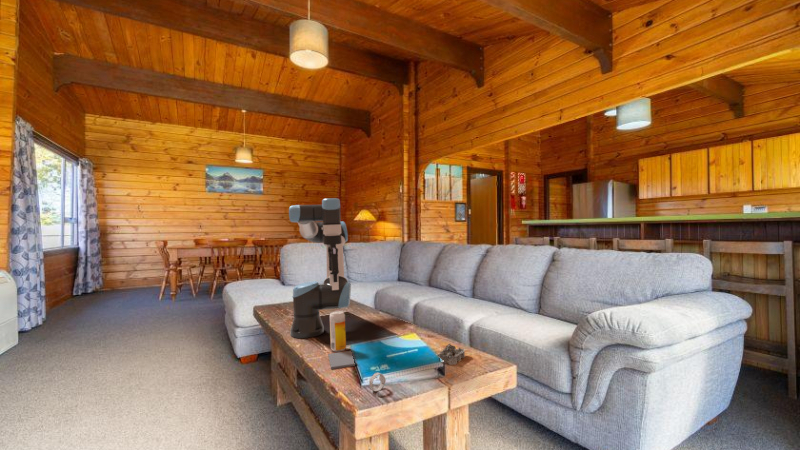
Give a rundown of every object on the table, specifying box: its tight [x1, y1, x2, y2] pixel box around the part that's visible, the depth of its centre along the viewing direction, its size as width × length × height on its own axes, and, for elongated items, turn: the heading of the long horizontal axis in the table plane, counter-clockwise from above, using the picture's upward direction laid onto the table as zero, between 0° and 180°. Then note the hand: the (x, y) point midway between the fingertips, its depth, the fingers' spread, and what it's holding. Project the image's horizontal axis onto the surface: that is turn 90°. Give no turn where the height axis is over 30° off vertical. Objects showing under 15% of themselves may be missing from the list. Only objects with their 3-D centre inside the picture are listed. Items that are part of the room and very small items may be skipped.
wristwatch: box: [368, 372, 387, 392], centre depth 109 cm, size 3×5×5 cm, turn 134°
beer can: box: [329, 310, 347, 353], centre depth 144 cm, size 6×6×15 cm
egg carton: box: [437, 343, 466, 366], centre depth 131 cm, size 11×8×4 cm
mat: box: [327, 350, 356, 370], centre depth 133 cm, size 13×9×1 cm
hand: (334, 287), depth 152 cm, fingers open, 9 cm apart
